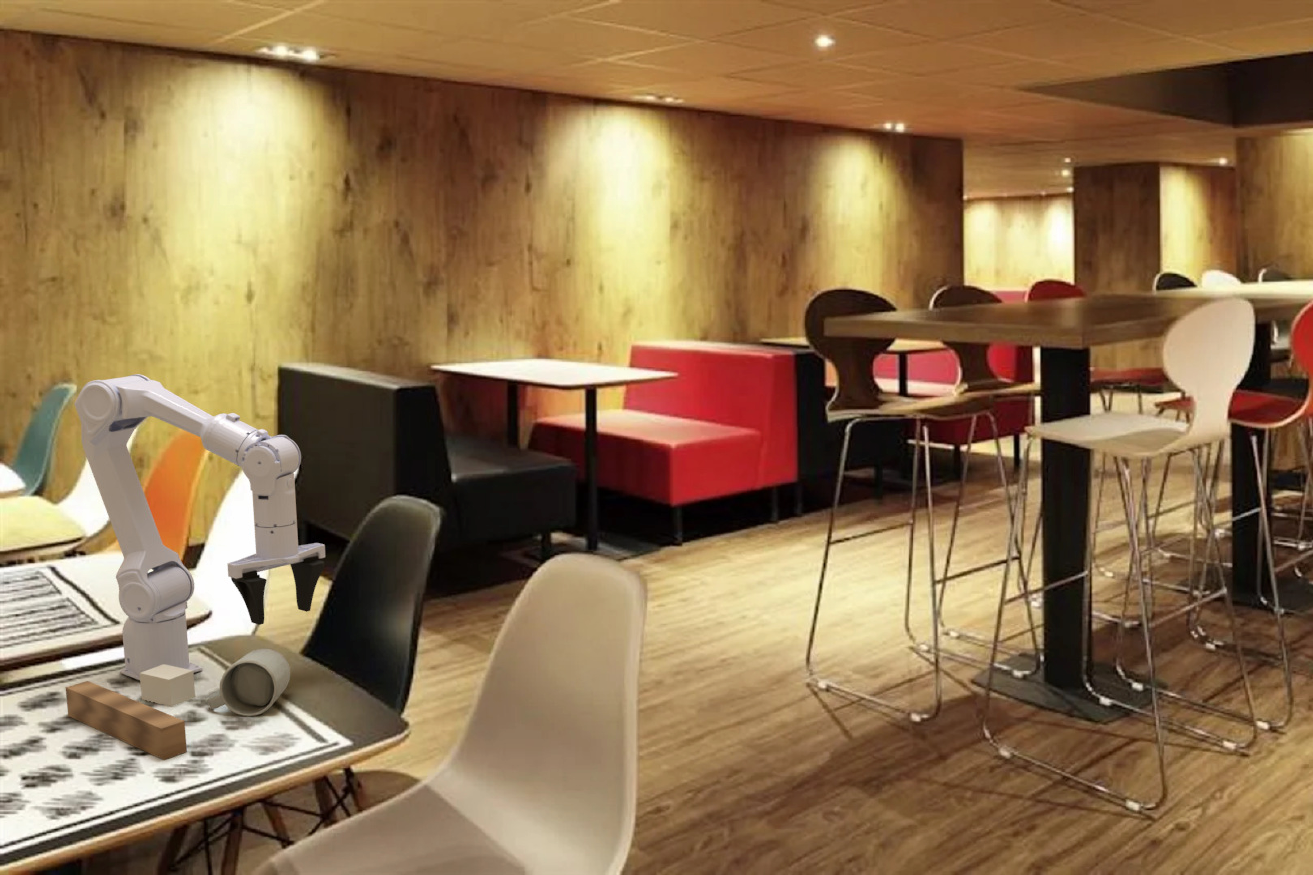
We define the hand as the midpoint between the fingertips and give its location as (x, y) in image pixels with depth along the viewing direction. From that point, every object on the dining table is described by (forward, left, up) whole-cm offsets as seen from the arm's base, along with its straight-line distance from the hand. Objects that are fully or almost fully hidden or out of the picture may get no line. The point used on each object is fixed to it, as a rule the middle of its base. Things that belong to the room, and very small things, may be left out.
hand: (281, 616), depth 167 cm
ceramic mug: (+4, -8, -10) cm, 14 cm away
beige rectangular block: (-8, -13, -10) cm, 19 cm away
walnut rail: (-1, -23, -10) cm, 25 cm away
